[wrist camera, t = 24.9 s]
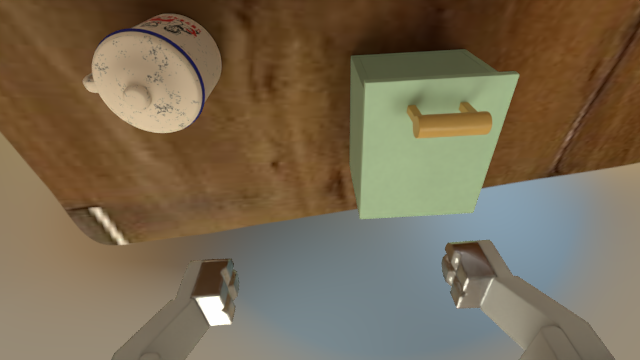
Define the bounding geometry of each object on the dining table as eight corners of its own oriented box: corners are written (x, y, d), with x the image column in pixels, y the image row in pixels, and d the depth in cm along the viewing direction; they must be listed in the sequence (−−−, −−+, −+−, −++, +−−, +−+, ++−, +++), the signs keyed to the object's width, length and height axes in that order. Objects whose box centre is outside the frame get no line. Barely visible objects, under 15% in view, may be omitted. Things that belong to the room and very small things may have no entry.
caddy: (350, 55, 34) (363, 88, 27) (465, 48, 34) (511, 80, 27) (349, 165, 43) (358, 214, 36) (440, 159, 43) (470, 207, 35)
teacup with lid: (210, 5, 31) (168, 31, 22) (234, 93, 37) (209, 144, 27) (92, 18, 32) (2, 50, 22) (133, 103, 37) (75, 157, 28)
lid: (363, 79, 26) (373, 103, 22) (514, 70, 26) (552, 93, 22) (358, 214, 35) (365, 248, 31) (470, 208, 35) (491, 241, 31)
